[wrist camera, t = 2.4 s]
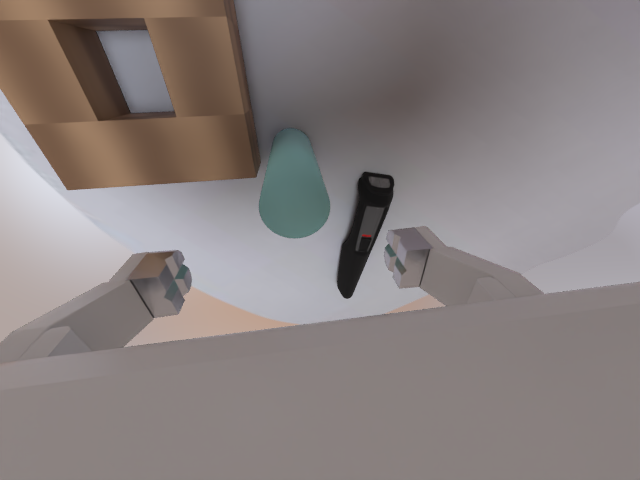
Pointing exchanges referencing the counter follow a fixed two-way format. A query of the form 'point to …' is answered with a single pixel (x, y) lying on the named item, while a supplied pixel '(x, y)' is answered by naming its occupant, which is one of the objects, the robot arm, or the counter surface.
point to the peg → (293, 188)
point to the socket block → (107, 99)
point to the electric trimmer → (364, 229)
